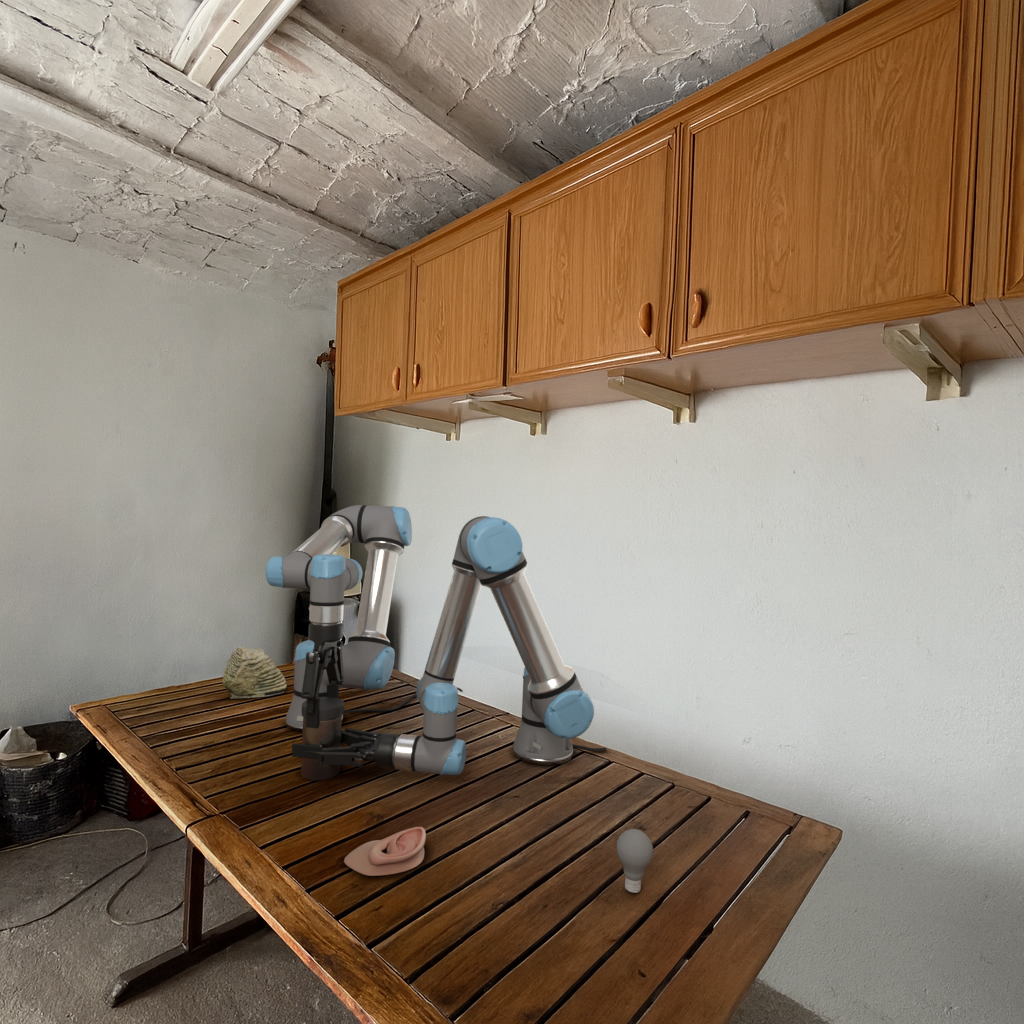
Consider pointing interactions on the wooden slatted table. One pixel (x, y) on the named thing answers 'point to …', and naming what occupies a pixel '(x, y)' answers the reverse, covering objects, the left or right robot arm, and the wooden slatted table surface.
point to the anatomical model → (389, 853)
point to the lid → (327, 708)
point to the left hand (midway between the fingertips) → (322, 719)
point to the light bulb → (634, 857)
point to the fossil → (252, 674)
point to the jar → (328, 738)
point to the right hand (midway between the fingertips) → (302, 742)
